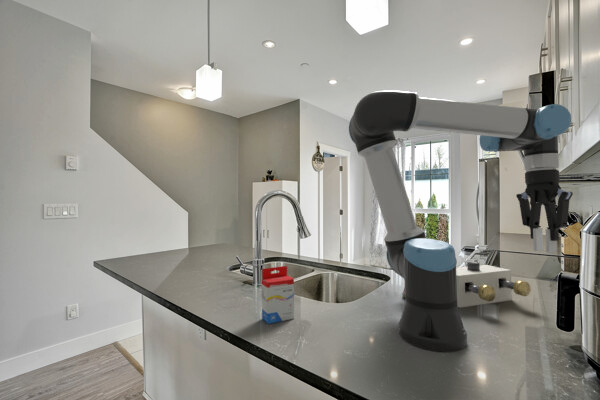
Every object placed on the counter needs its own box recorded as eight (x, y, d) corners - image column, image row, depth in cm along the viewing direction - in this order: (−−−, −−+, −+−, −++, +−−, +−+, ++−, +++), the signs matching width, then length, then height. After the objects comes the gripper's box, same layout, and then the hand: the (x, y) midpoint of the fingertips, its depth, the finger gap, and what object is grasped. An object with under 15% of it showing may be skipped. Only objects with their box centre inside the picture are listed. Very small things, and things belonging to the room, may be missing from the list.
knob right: (520, 297, 84) (519, 282, 84) (492, 288, 93) (491, 275, 93) (530, 295, 85) (530, 281, 86) (502, 287, 94) (501, 274, 94)
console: (460, 307, 87) (458, 275, 87) (438, 298, 95) (437, 269, 96) (512, 300, 93) (511, 270, 93) (487, 292, 101) (486, 264, 102)
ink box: (267, 324, 77) (266, 272, 77) (261, 318, 81) (260, 268, 82) (295, 318, 81) (294, 268, 81) (287, 313, 85) (287, 265, 86)
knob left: (484, 302, 80) (483, 287, 81) (459, 293, 89) (458, 279, 89) (496, 300, 82) (495, 285, 82) (469, 291, 90) (469, 278, 90)
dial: (473, 271, 92) (473, 263, 92) (464, 269, 96) (464, 261, 96) (482, 270, 93) (482, 262, 93) (473, 268, 97) (472, 260, 97)
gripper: (584, 166, 74) (588, 254, 73) (522, 173, 89) (525, 246, 88) (564, 166, 72) (568, 256, 71) (505, 173, 87) (507, 248, 86)
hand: (544, 251), depth 80 cm, fingers open, 3 cm apart
